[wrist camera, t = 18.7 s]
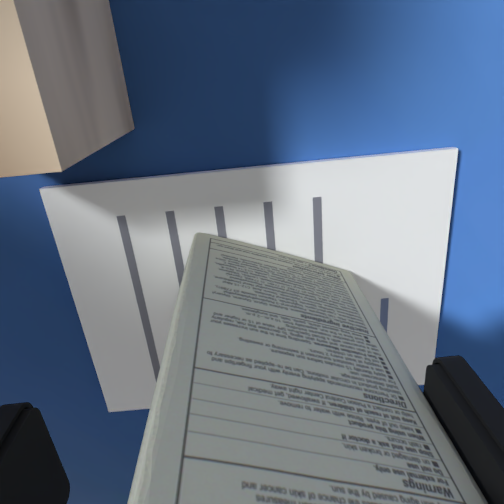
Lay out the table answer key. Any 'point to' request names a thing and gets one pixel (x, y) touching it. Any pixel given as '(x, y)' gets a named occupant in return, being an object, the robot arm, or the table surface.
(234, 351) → the skincare box
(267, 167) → the letter
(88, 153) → the block
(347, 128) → the table surface
